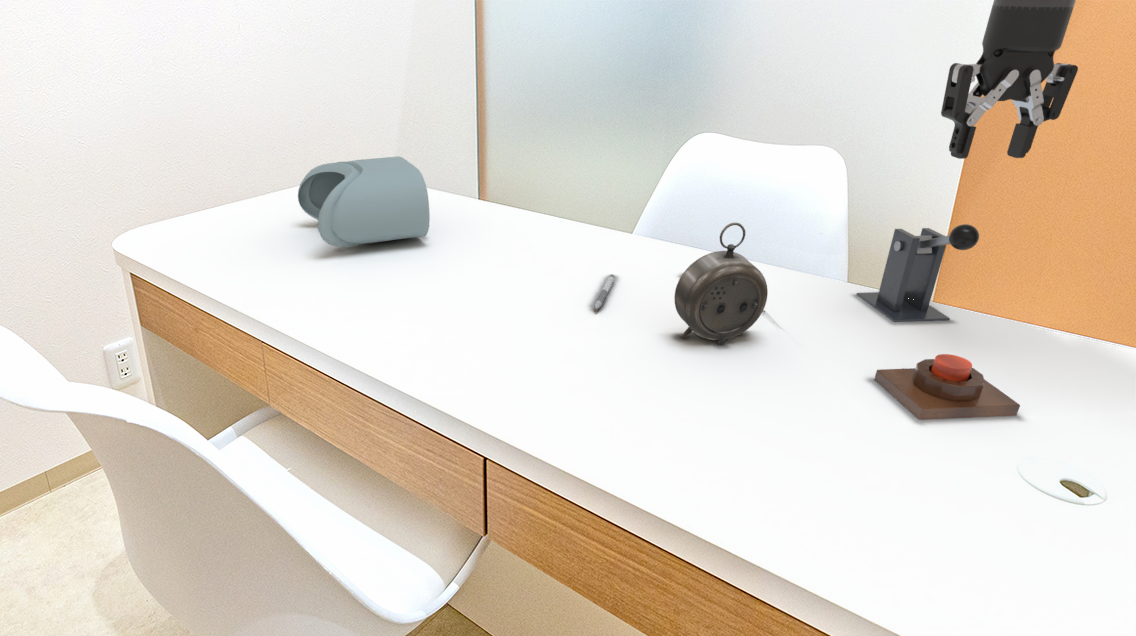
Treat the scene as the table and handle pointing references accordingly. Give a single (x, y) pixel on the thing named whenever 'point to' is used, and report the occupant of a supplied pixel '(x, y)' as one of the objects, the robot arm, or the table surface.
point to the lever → (950, 239)
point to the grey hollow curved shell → (366, 201)
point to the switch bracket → (908, 280)
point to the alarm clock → (721, 294)
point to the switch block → (945, 394)
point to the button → (951, 367)
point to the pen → (604, 291)
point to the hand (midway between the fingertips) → (987, 156)
